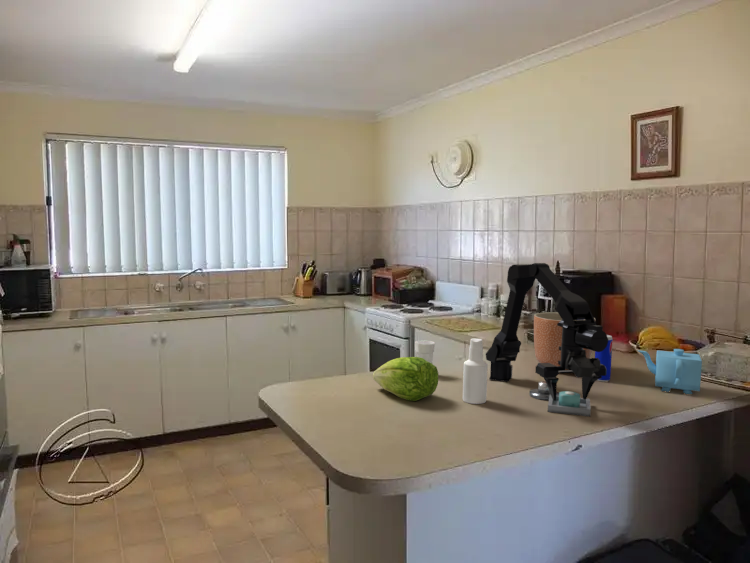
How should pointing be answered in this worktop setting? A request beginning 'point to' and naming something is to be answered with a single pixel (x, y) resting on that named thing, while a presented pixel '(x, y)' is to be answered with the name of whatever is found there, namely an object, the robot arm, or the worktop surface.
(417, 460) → the worktop surface
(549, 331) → the planter
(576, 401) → the teal rounded toy
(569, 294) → the robot arm
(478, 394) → the spray bottle
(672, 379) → the teapot
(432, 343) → the cup
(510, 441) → the worktop surface
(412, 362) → the lettuce
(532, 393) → the round metal saucer
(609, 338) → the beverage can
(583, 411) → the tray
